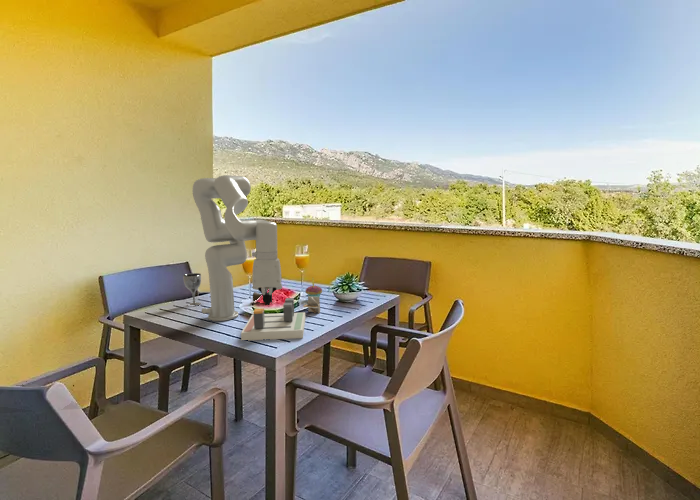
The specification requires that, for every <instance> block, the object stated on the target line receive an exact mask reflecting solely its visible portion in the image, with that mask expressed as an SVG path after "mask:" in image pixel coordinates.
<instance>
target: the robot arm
mask: <svg viewBox="0 0 700 500" xmlns="http://www.w3.org/2000/svg"><path fill="white" fill-rule="evenodd" d="M251 187H252V185H251V183H250V181H249V180H248V179H247V178H246V177H245V176H243V175H228V174H227V175H226V174H225V175H220V176H218V177H215V178H214V177H204V178H199V179H196V180H195V181H194V182H193V185H192V197H193V201H194V203H195V205H196V207H197V209H198V211H199V214H200V220H201V225H202V229H203V234H204V237H205V240H206V241H207V242H209V243H213V244H214V243H223V242H224V244H216V245H211V246H209V247H208V248H207V249H206V250H205V253H204V259H205V263H206V267H207V272H208V279H209V280H208V281H209V296H210V307H209V308H207V307H203V308H201V313H202V314H204V315H205V314H208V315H207V319H208V320H210V321H211V320H212V322H223V321H224V322H225V321H230V320H234V319H236V318H238V316H239V312H238V311H236V309H235V297H234V296H235V295H234V294H235V292H234V282H233V275H232V272H230V270H229V268H227V267H230V266H231V267H232V266H238V265H243V264H244V263H246V260H247V258H248V257H247V256H248V254H247V253H248V252H247V247H246V243H245V242H246V241H255V252H252V254H251V257H255V259H253V264H252V278H251V279H252V280H251V283H252V287H251V288H252V290H257V291H259V293H260V294H263V301H262V303H264V305H265V306H270V305H271V304H272V303H273V302H272V293H273V294H274V293H275V292H276V291H278V290H282V289H283V284H282V278H283V277H282V267H281V266H282V265H281V262H280V258H278V225H277V223H276V222H274V221H267V220H266V219H260V218H259V219H243V220H242V219H239V218H238V217H237V215H239V214H241V213H242V212H244V211H245V210H246V208H247V207H248V206H249V205H248V204H249V201H248V198H247V196H249V194H250V192H251V190H252V188H251ZM212 199H220V200H221V202H223V203H222V204H224V206H225V208H226V210H225V212H224V219H223V216H222V210H221V208H220V207H219V205H218V204H217V203H216V202H215V201H214V200H212ZM225 242H229V243H227V244H226V243H225ZM266 287H269V292H268V293H267V291H266Z"/></svg>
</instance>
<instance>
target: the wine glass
mask: <svg viewBox="0 0 700 500" xmlns="http://www.w3.org/2000/svg"><path fill="white" fill-rule="evenodd" d="M182 277H183V283H184V286H185V288H187V290H189V291H190V292H191V294H192V295H191V296H192V302H191V303H189V304H190V305H199V304H201V303H202V302H196V291H197V290H198V289H199V288H200V287H201V283H202V274H201V273H197V272H196V273H194V272H193V273H192V272H191V273H186V274H183V275H182ZM201 305H202V304H201ZM199 306H200V305H199Z"/></svg>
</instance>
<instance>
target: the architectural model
mask: <svg viewBox="0 0 700 500" xmlns="http://www.w3.org/2000/svg"><path fill="white" fill-rule="evenodd" d="M320 297H321V296H320ZM320 297H310V296H308V295H307V304H304V305H303V306H302V308H308V309H307V310H308V312H310V313H311V312H312V313H314V314H316V313H318V314H320V313H321V303H320V301H321V300H320Z"/></svg>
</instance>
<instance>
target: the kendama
mask: <svg viewBox="0 0 700 500" xmlns="http://www.w3.org/2000/svg"><path fill="white" fill-rule="evenodd" d="M268 289H269V287H266V291H267V290H268ZM261 295H263V294H262V293H260V292H259V293H258V292H257V291H256V292H255V291H254V292H253V293H252V301H255V300H257V299H258V298H259V297H260V296H261Z"/></svg>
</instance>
